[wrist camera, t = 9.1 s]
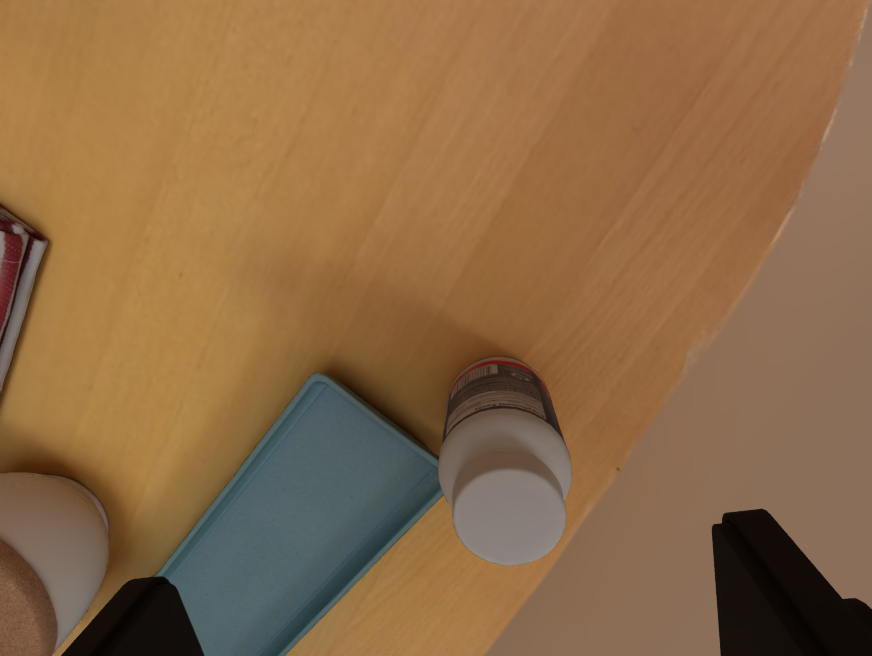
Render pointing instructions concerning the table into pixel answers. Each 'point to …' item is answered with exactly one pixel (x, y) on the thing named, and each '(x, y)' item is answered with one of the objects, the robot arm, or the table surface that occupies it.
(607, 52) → the table surface
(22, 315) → the dish towel
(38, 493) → the trinket box
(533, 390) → the pill bottle
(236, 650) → the teal serving tray
